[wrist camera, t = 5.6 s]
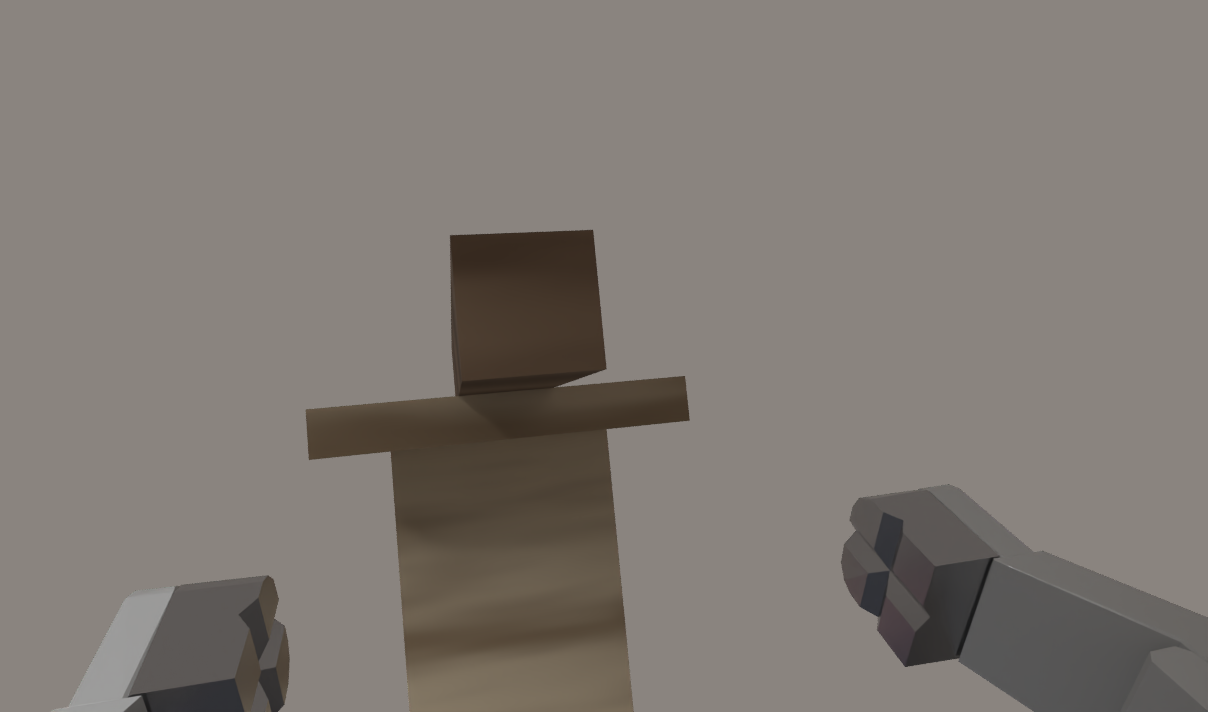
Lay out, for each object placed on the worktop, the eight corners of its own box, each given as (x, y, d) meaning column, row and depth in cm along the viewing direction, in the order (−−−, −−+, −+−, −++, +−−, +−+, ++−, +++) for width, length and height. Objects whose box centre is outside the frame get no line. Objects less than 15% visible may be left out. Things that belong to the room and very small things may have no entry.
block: (606, 369, 15) (593, 230, 15) (462, 380, 14) (450, 235, 14) (515, 401, 36) (510, 343, 36) (456, 406, 35) (451, 348, 36)
